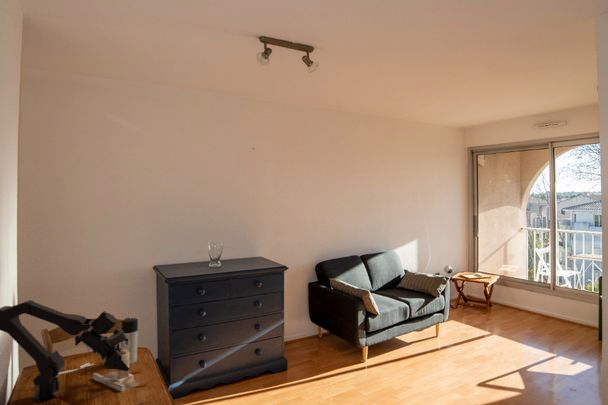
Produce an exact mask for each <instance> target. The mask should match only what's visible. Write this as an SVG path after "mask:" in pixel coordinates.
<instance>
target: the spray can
mask: <svg viewBox="0 0 608 405" xmlns="http://www.w3.org/2000/svg"><path fill="white" fill-rule="evenodd" d="M138 320H139V319H138V318H136V317H131V318H129V317H128V318H124V319H122V320H121V330H123V332H124V333H125V335H126V338H127V339H126V340H125V341H122V342H121V343H120V344H121V345H120V350H122V349H127V352H129V365H131V364H133V363H136V362H137V360H138V333H139V332H138V329H139V328H138V327H139V325H138V322H139V321H138Z"/></svg>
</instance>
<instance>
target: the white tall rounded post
mask: <svg viewBox="0 0 608 405" xmlns="http://www.w3.org/2000/svg"><path fill="white" fill-rule="evenodd" d="M119 350H120V353H121V355H122V360H123V362H124V363H125V364H126V365H127V366H128V367H129V368H130V364H129V352H127V349H122V350H121V349H119ZM117 373H118V376H115V377H113V380H115V381H116V382H119V383H121V384H123V385H127V384H129V383H132V382H133V381H134V377H135V376H134V375H133V374H132V373H130V369H129V370H128V371H123V370H117Z"/></svg>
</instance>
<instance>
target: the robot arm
mask: <svg viewBox="0 0 608 405" xmlns="http://www.w3.org/2000/svg"><path fill="white" fill-rule="evenodd" d="M24 314H26V315H29V316H31V317H34V318H37V319H40V320H43V321H45V322H48V323H50V324H53V325H56V326H58V327H59V328H60V329H61V330H62V331H63V332H65V333H66V334H69V335H71V336H75V337H74V342H75V343H74V345H75V346H78V345H79V344H80V343H82V344H83V345H85V346H86V347H88V348H89V349H90V350H91V351H92V353H93V354H97V355H99V356H100V359H101V360H103V368H104V369H107V370H117V371H118V370H123V371H128V370H129V371H130V366H129V367H128V366H127V365H126V364H125V363H124V362H123V360H122V355H121V353H120V350H121V349H120V348H121V345H120V344H121V342H122V341H125V340H126V339H127V338H126V335H125V333H124V332H123V330H122V329H118V328H115V329H114V330H113V331H112V334H111V335H110V336H107V335H106V334H107V333H108V332H109V331H110V330H111V329H112V328H113V327H114V326H115V325H117V324H118V319H117V318H116V317H115V316H114V315H113V314H111V313H109V312H107V311H105V310H103V311H102V312H101V313H100V314H99V316H98V317H97V318H86V317H85V316H84V315H80V314H74V313H72V314H71V313H64V312H62V311H59V310H56V309H54V308H51V307H48V306H46V305H43V304H41V303H37V302H35V301H34V300H32V299H30V300H25V301H24V302H20V303H18V304H15V305H12V306H10V305H5V306H4V305H3V306H2V307H0V331H1V332H4V333H6V334H8V335H9V336H10V338H12V339H13V340H14V341H15V342H16V344H18V345H19V347H21V348H22V349H23V351H25V353H27V354H28V356H29V357H30V358H31V359H33V360H34V361H35V365H36V368H37V371H38V372H39V374H38V375H37V376H36V377H35V378H34V379H33V384H34V386H35V391H34V394H35V395H32V398H33V399H34V400H36V401H37V402H39V403H43V402H46V401H48V400H49V401H50V400H51V399H54V398H57V396H56V395H55V393H56V392H59V390H60V381H59V378H58V376H59V375H58V374H59V373H61V372H62V370H64V367H65V363H66V362H65V360H64V358H65V357H64V356H62V355H60V353H59V352H58V350H55V351H54V352H50V351H49V350H47V348H45V347H44V346H43V344H42V343H41V342H39V341H38V340H37V338H35V336H33V334H31V332H30V331H29V330H28V329H27V328H26V327H25V326H24V325H23V324H22V323H21V319H20V316H21V315H24ZM81 332H82V333H81ZM102 334H103V335H102Z"/></svg>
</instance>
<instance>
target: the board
mask: <svg viewBox="0 0 608 405" xmlns="http://www.w3.org/2000/svg"><path fill="white" fill-rule="evenodd" d="M115 376H118V371H110V372H108V373H105V374H102V375H101V374H99V373H97V372H93V373H92V380H93V381H96V382H99V383H101V384H104V385H105V386H107V387H110V388H112V389H114V390H117V391H118V392H121V393H122V392H124V391H127V390H129V389H131V388H134V387H137V386H139V385H141V384H143V382H141V381H140V380H136V379H134V381H133V382H132V383H129V384H127V385H123V384H121V383H119V382H116V381H115V380H113V377H115Z"/></svg>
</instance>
